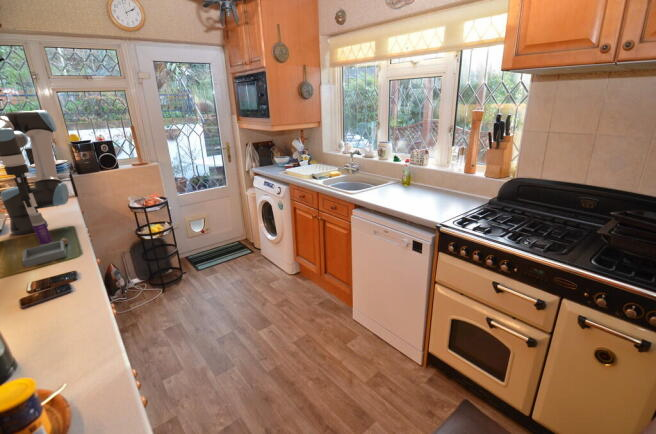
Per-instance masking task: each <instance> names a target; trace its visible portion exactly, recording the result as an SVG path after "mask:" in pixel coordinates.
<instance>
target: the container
mask: <svg viewBox="0 0 656 434" xmlns="http://www.w3.org/2000/svg"><path fill="white" fill-rule="evenodd" d="M29 217H30V220H31V223H32V226H33V228H34V231H35V232H34V233H35V235H36V237H37V241H38V242H39V246H41V245H45V244H49V243H53V239H52V236H51V234H50V232H49V229H48V226H46V224H45V221H44V219H45V218H44V217H43V214H42V213H41V212H39V213H35V214H30V215H29ZM43 218H44V219H43Z"/></svg>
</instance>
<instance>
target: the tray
mask: <svg viewBox="0 0 656 434" xmlns="http://www.w3.org/2000/svg"><path fill="white" fill-rule="evenodd" d="M60 240H61V239H60ZM60 240H59V241H58V240H57V241H52V243H49V244H45V245H38V246H34V247H33V246H32V247H29V248H26V249H23V253H22V259H21V262H22V264H23V267H24V268H29V267H32V266H36V265H40V264H44V263H49V262H50V261H55V260H59V259H62V258H66V257H67V250H66V245H65V244H64V242H63V240H61V241H60Z"/></svg>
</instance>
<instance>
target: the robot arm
mask: <svg viewBox="0 0 656 434" xmlns="http://www.w3.org/2000/svg"><path fill="white" fill-rule="evenodd" d="M55 132H57V126H56V123H55V121H54V119H53V118H52V116H51V114H50V113H49V112H48V111H47V110H45V109H42V110H41V109H40V110H37V109H35V110H25V111H24V110H23V111H22V110H21V111H9V112H5V113H3V114H0V162H1V163H2V165H3V166H4V171H5V173H6V175H7V176H14V183H15V185H16V186H13V187H9V188H7V189H4V190H2V191H1V192H0V199H1V202H2V203H3V204H2V205H3V206H4V208H5V211H6V212H7V216H8V217H9V220H10V223H9V227H10V233H11V234H12V235H14V236H21V235H22V236H23V235H28V234H34V233H35V231H34V228H33V226H32V223H31V220H30V217H29V215H30V214H35V213H40V212H39V210H40V209H46V208H53V207H60V206H63V205H66V204H67V203H68V202H69V198H70V197H69V196H70V195H69V189H68V185H67V184H66V183H64V182H63V180H61V179H59V176H58V172H57V166H56V161H55V154H54V150H53V145H52V140H51V138H53V136H54V133H55ZM29 139H30V140H29ZM29 141H30V145H31V147H30V148H31V151H32V156H33V157H32V158H33V163H34V169H35V174H36V180H35V181H34V183H33V184H34V186H30V184H29V181H28V178H27V176H26V175H25V174H27V173H29V172H30V169H29V167H28V164H26V159H25V156H24V154H23V151H22V148H24V147H25V146H27V144H28V143H29ZM43 219H44V221H45V224H46V226H47V227H49V223H48V222H47V220H46V219H45V218H44V217H43Z"/></svg>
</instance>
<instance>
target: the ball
mask: <svg viewBox="0 0 656 434" xmlns="http://www.w3.org/2000/svg"><path fill="white" fill-rule="evenodd" d="M61 240H63V242H64V244H65V246H66V245H68V244H69V240H68V238H64V237H63V238H61V239H60V240H59V241H61Z"/></svg>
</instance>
